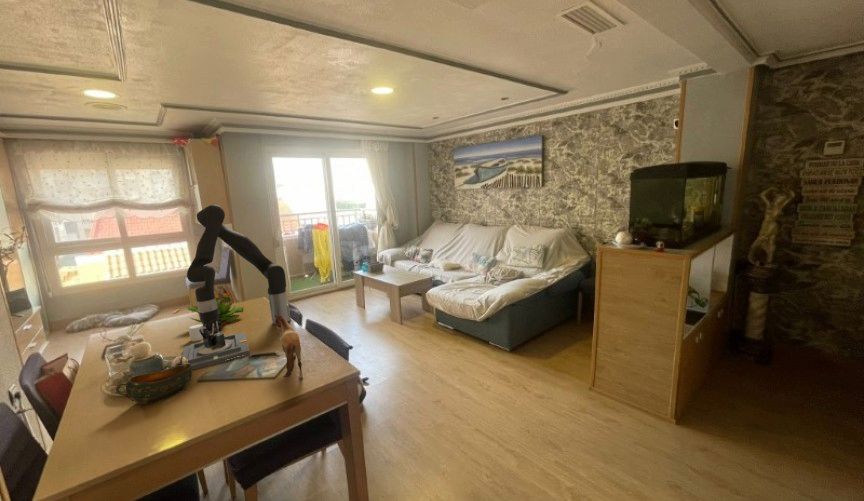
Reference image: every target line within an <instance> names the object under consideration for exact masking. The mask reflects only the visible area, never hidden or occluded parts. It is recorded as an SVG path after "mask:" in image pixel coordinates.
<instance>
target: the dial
mask: <svg viewBox="0 0 864 501" xmlns="http://www.w3.org/2000/svg"><path fill="white" fill-rule="evenodd" d="M209 335H210V334H209ZM210 336H211V335H210ZM224 336H225V333H224V332H218V333H213V338H214V343H215V345H214V346H209V343H208V339H204V338H203V339H202V341H203V342H204V345H203V346H201V347H200V348H198V350H197V352H198V354H199V355H207V354H211V353H215V352H218V351H222V350H226V349H228V348H230V347H231V346H232V341H231V340H226V339H225V338H224Z"/></svg>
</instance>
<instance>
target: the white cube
mask: <svg viewBox="0 0 864 501" xmlns="http://www.w3.org/2000/svg"><path fill="white" fill-rule="evenodd" d="M202 328H203V324H202V323H196V324H193V325H190V326H188V327H187V330H188V334H189V337H190V340H191V341H192V342H200V341H201V340H202V341H203V337H202V335H201V333H200V332H199V330H200V329H202Z"/></svg>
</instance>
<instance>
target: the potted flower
mask: <svg viewBox="0 0 864 501" xmlns="http://www.w3.org/2000/svg"><path fill="white" fill-rule="evenodd" d="M221 296H222V300H220V296H219V295H218V294H215V299H216V302H217V307H218V312H219V317H218V319H222V326H223V325H225V324H226V323H232V322H235V320H237V319H238V318H239V317H240V316H241V315H240V314H239V313H244V307H245V306H236V305H234V306H233V307H232V305H233V303H234V302H229V299H230V294H229V293H227V292H226V293H221ZM231 307H232V308H231ZM186 308H187V311H192V312H196V313H197V314H199V312H198V307H197V305H192V306H187V307H186ZM236 313H238V314H236ZM190 319H191V320H193V321H196V322H198V323H200V324H203V322H202V321H201V320H200V319H197V318H193V317H190ZM218 324H219V323H218Z"/></svg>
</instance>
